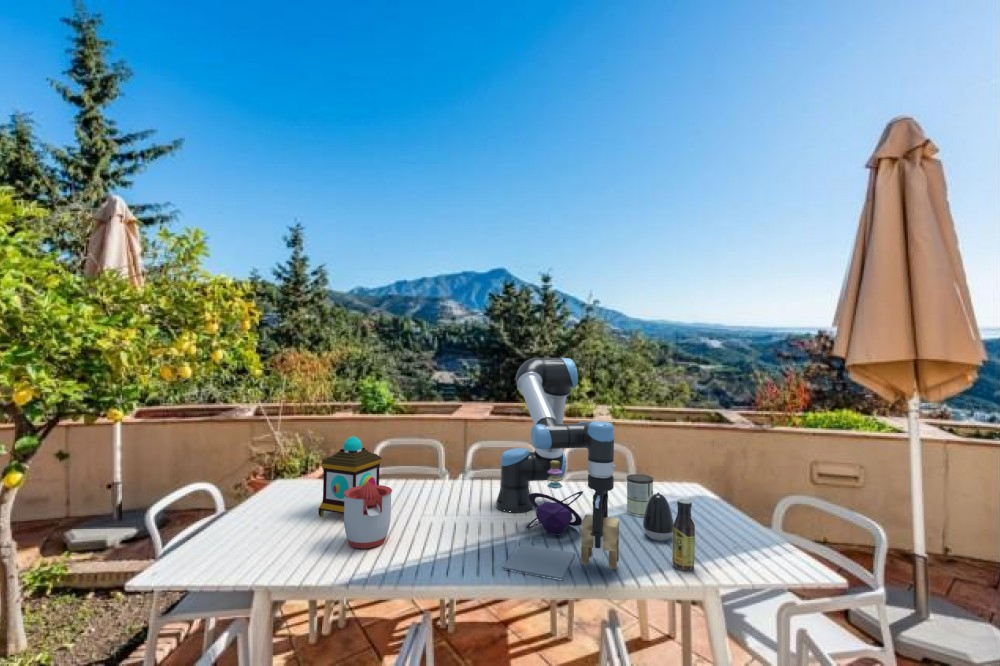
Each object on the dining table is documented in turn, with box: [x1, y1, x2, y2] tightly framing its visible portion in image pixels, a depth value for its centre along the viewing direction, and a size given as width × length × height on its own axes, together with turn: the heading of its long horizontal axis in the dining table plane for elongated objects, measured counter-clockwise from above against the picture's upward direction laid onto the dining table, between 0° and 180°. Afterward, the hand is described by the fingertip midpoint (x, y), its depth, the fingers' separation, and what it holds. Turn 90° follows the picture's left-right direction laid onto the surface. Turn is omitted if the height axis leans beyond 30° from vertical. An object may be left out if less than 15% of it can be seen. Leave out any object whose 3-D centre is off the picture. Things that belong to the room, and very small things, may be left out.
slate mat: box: [501, 543, 576, 580], centre depth 144 cm, size 18×18×1 cm
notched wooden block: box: [580, 514, 620, 570], centre depth 140 cm, size 10×7×12 cm
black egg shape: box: [642, 491, 674, 542], centre depth 164 cm, size 10×10×15 cm
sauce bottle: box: [671, 498, 696, 571], centre depth 142 cm, size 6×6×20 cm
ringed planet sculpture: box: [524, 460, 584, 535], centre depth 170 cm, size 22×21×25 cm
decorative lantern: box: [318, 436, 383, 518], centre depth 186 cm, size 20×20×30 cm
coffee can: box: [626, 473, 654, 518], centre depth 191 cm, size 10×10×14 cm
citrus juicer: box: [343, 482, 393, 549], centre depth 157 cm, size 16×17×20 cm
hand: (600, 552), depth 140 cm, fingers closed on notched wooden block, 7 cm apart
